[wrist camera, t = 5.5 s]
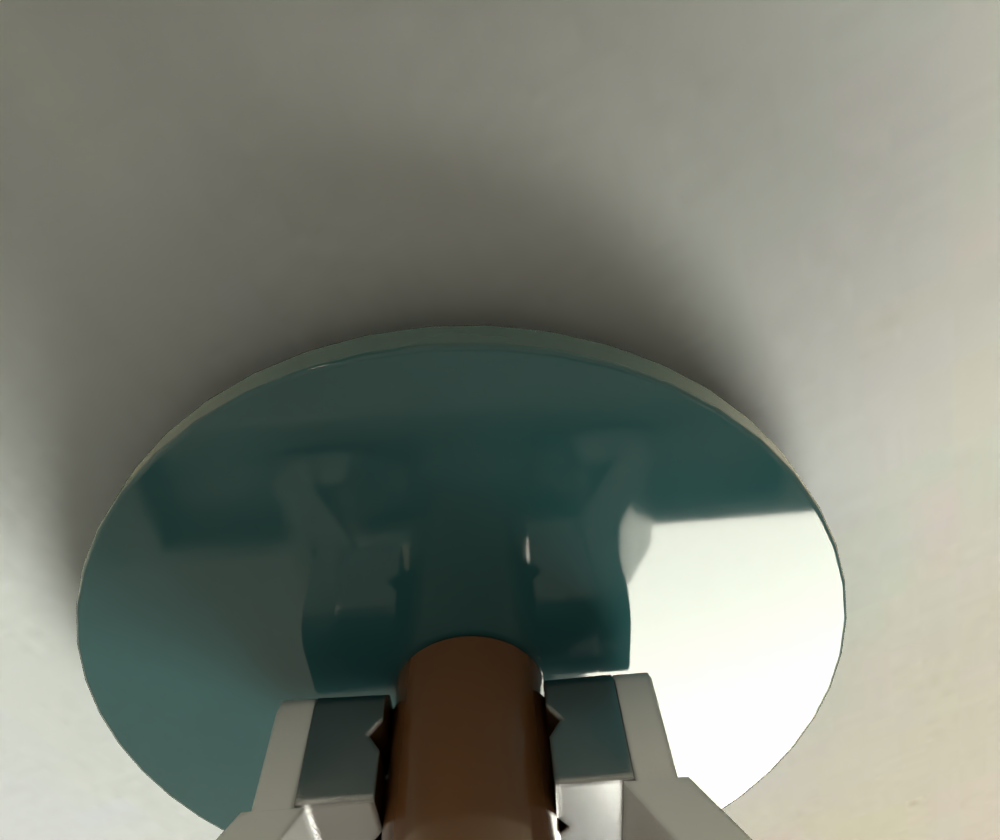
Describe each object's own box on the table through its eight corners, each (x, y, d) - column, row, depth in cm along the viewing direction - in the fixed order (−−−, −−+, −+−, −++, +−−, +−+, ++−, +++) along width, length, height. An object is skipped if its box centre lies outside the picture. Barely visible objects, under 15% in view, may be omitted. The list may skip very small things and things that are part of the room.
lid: (876, 268, 9) (1181, 494, 5) (772, 800, 15) (882, 1101, 11) (-18, 340, 9) (-373, 618, 5) (217, 844, 15) (128, 1160, 11)
